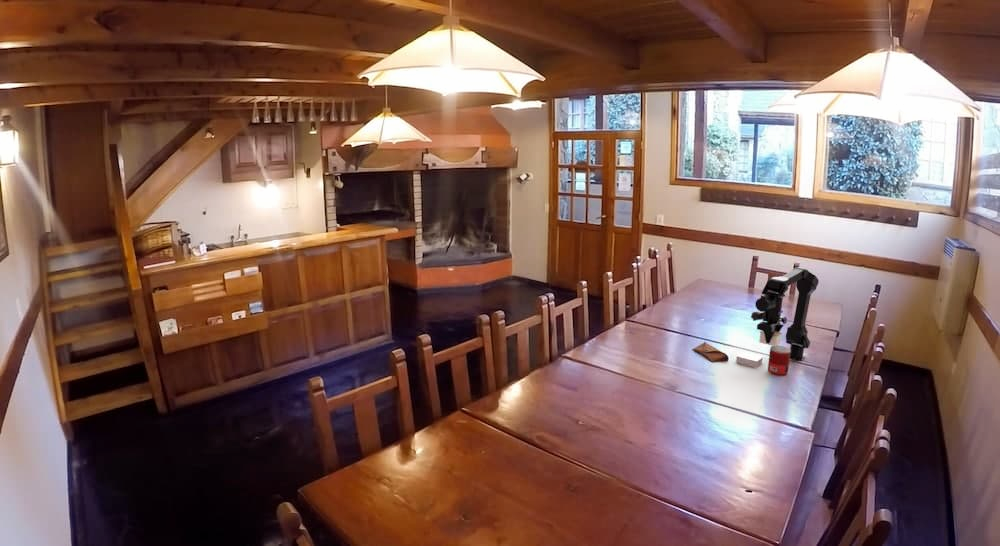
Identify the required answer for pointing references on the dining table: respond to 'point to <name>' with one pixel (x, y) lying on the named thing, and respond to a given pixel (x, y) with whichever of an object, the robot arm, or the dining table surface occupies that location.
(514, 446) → the dining table surface
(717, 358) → the sunglasses case
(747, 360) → the pale pink chamfered block
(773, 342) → the cream box
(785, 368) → the canned food
